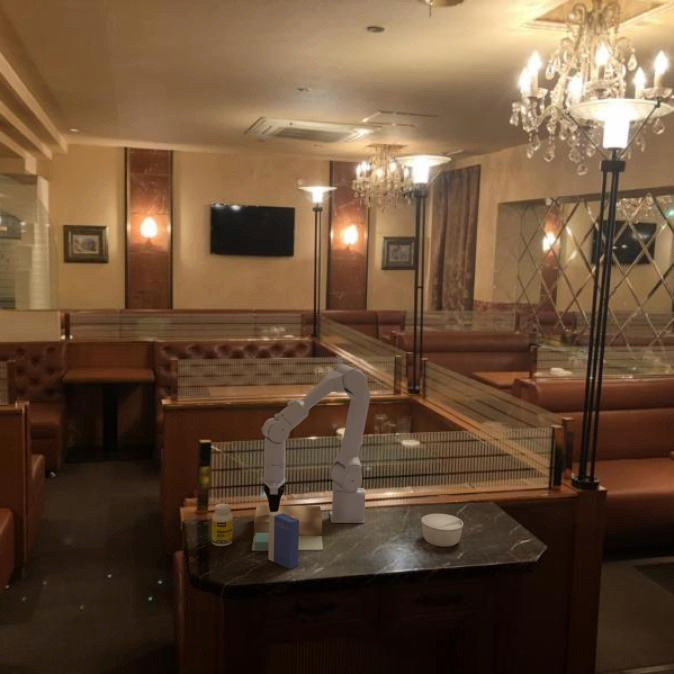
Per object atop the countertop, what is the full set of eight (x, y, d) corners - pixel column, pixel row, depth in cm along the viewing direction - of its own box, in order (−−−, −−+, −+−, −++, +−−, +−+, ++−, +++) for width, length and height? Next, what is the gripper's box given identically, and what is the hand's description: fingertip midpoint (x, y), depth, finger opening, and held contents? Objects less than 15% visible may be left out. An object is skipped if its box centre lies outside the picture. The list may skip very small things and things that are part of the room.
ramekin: (459, 551, 177) (460, 531, 177) (416, 545, 180) (417, 525, 180) (464, 535, 188) (465, 516, 187) (424, 529, 191) (425, 511, 190)
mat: (321, 537, 184) (321, 536, 184) (322, 550, 175) (322, 549, 175) (253, 536, 183) (254, 535, 183) (251, 550, 174) (251, 549, 174)
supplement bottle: (215, 548, 175) (215, 511, 174) (208, 540, 180) (209, 504, 179) (235, 544, 178) (235, 508, 176) (228, 536, 182) (229, 501, 181)
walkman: (298, 565, 166) (299, 518, 165) (289, 569, 164) (290, 521, 163) (276, 555, 172) (277, 509, 170) (268, 559, 169) (268, 512, 168)
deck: (320, 519, 196) (320, 505, 196) (321, 536, 184) (322, 521, 184) (256, 519, 195) (256, 505, 195) (254, 536, 183) (254, 521, 183)
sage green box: (290, 542, 174) (290, 549, 175) (290, 532, 180) (290, 540, 181) (254, 542, 174) (254, 549, 174) (256, 532, 180) (255, 540, 180)
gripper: (261, 455, 194) (260, 501, 195) (258, 471, 179) (258, 521, 181) (286, 455, 194) (285, 501, 196) (285, 471, 180) (285, 521, 181)
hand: (274, 511), depth 188 cm, fingers closed
